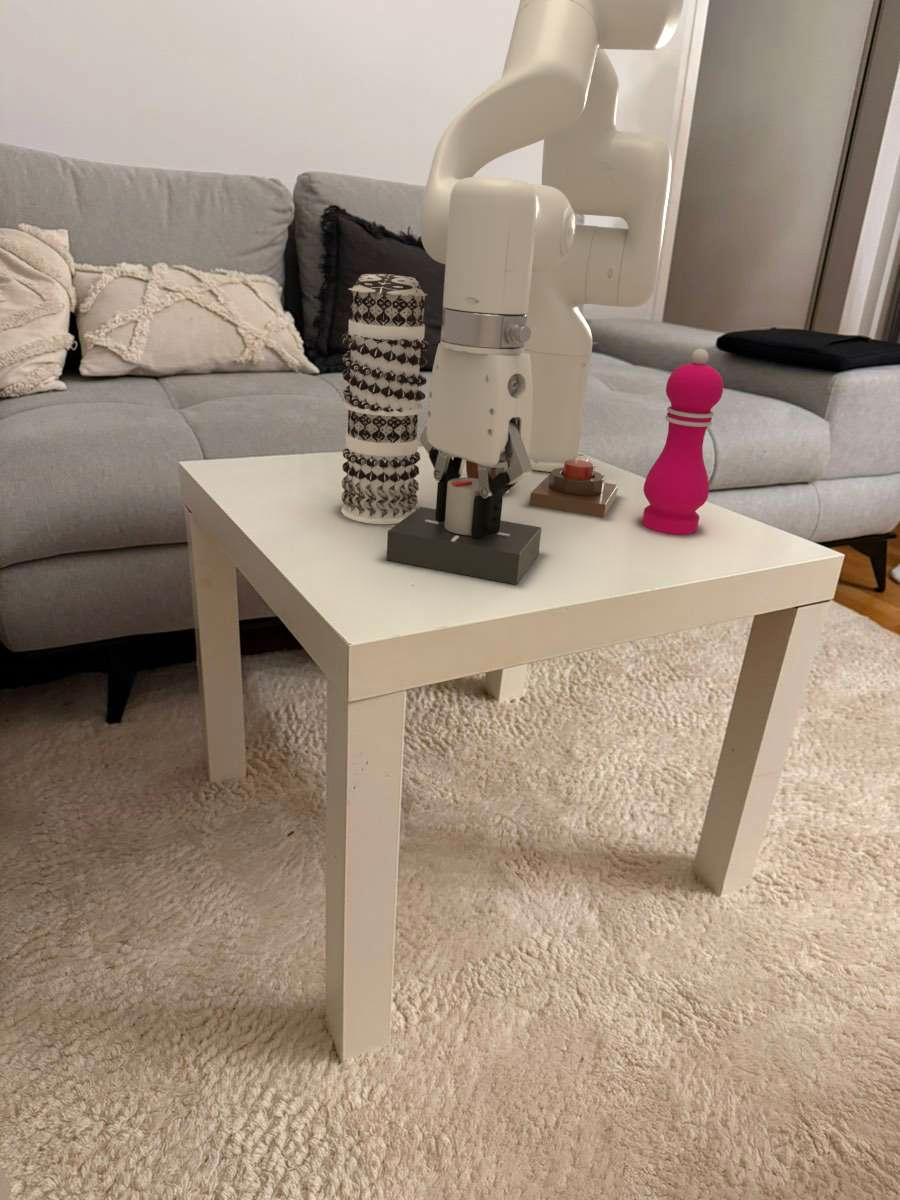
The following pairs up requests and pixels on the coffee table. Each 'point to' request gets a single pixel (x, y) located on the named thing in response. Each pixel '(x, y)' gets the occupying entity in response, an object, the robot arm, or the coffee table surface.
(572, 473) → the button
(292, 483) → the coffee table surface
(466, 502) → the knob
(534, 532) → the panel
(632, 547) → the coffee table surface
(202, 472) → the coffee table surface
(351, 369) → the decorative candle
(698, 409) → the pepper mill
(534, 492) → the button block
